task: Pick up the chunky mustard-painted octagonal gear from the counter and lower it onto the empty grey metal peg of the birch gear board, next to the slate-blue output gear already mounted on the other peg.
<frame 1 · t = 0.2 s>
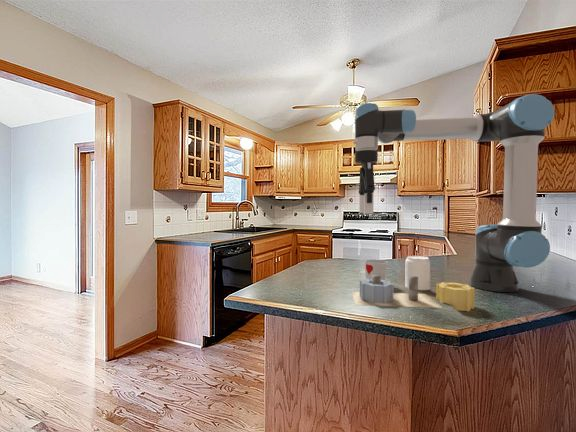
hand: (365, 213, 106), 28 cm above the countertop, fingers open, 13 cm apart
cup: (375, 289, 113), on the countertop
beverage can: (417, 291, 109), on the countertop
gear board: (392, 303, 95), on the countertop
output gear: (376, 298, 95), resting on gear board
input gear: (454, 305, 93), on the countertop
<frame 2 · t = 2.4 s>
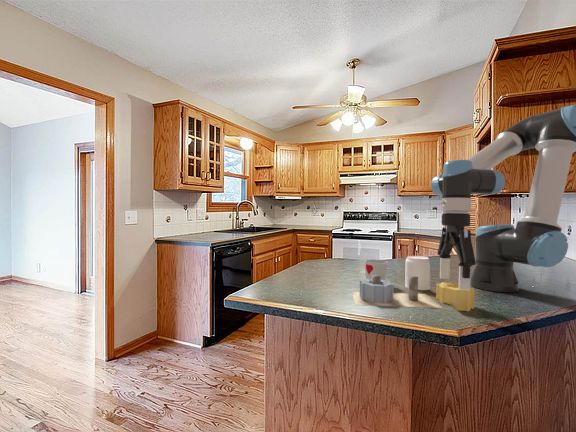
hand: (453, 283, 92), 7 cm above the countertop, fingers open, 13 cm apart
nothing on the countertop moved.
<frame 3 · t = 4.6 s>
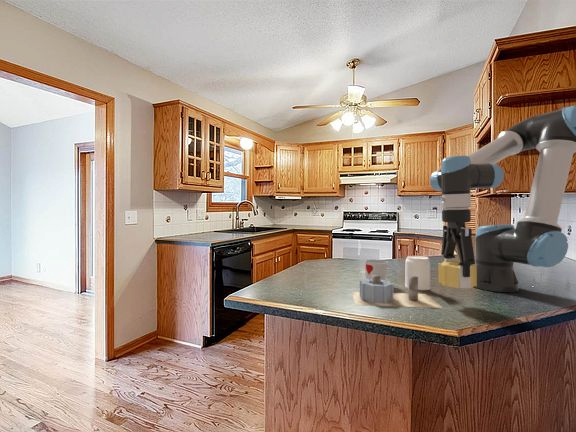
hand: (456, 283, 93), 7 cm above the countertop, fingers closed on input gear, 10 cm apart
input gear: (457, 284, 93), point 7 cm above the countertop, touching gripper
everything else where it was.
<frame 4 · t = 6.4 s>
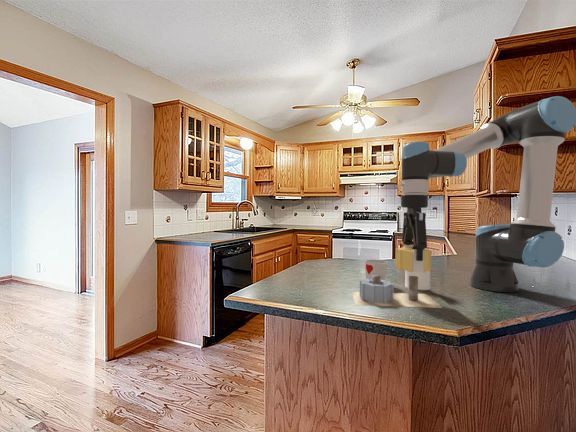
hand: (412, 268, 94), 11 cm above the countertop, fingers closed on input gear, 10 cm apart
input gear: (412, 269, 94), point 11 cm above the countertop, touching gripper
everything else where it was.
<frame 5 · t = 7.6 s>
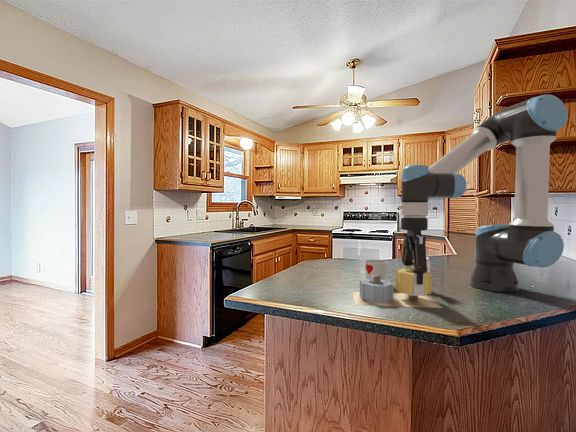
hand: (412, 290, 94), 4 cm above the countertop, fingers closed on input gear, 10 cm apart
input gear: (412, 291, 94), point 4 cm above the countertop, touching gripper
everything else where it was.
when the fingers open (3 cm above the countertop, at t = 8.5 s): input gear stays where it is, resting on gear board.
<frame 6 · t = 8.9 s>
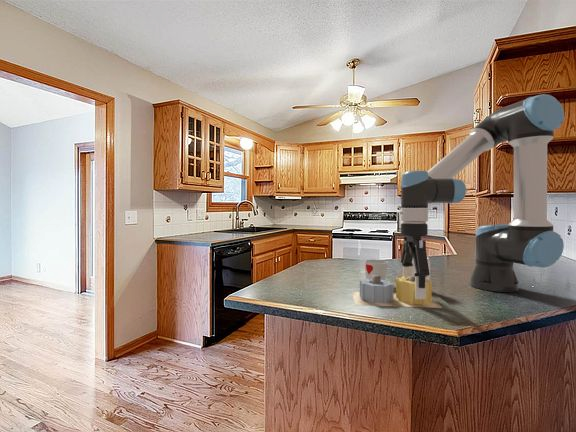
hand: (413, 292, 94), 4 cm above the countertop, fingers open, 13 cm apart
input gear: (413, 299, 94), point 1 cm above the countertop, touching gear board
everything else where it was.
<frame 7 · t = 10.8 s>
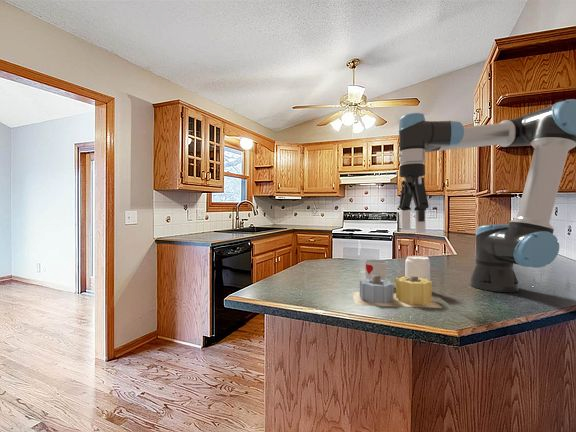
hand: (412, 231, 99), 22 cm above the countertop, fingers open, 13 cm apart
nothing on the countertop moved.
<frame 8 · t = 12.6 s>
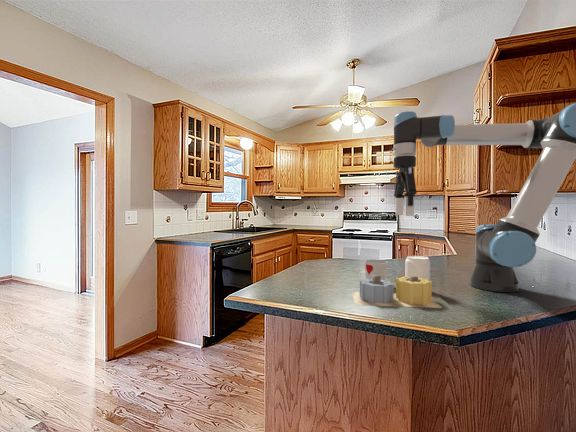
hand: (404, 215, 112), 27 cm above the countertop, fingers open, 13 cm apart
nothing on the countertop moved.
at the end: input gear 0.1 cm from the target spot on the gear board, point 1.5 cm above the gear board's base; the gripper is holding nothing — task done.
